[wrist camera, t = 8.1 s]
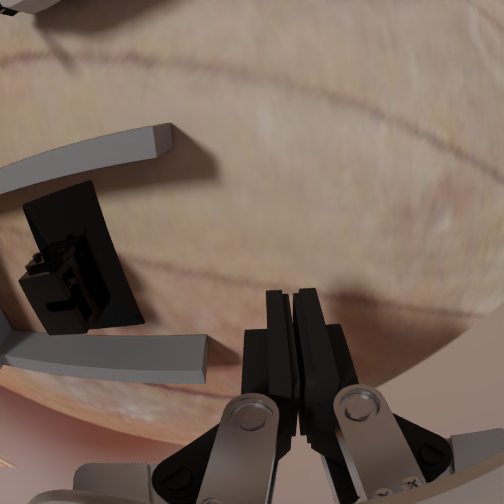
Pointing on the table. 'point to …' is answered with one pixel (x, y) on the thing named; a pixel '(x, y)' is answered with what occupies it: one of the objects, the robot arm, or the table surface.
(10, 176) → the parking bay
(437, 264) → the table surface
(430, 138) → the table surface
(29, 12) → the robot toy
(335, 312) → the table surface
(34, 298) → the black bracket part
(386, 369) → the table surface
